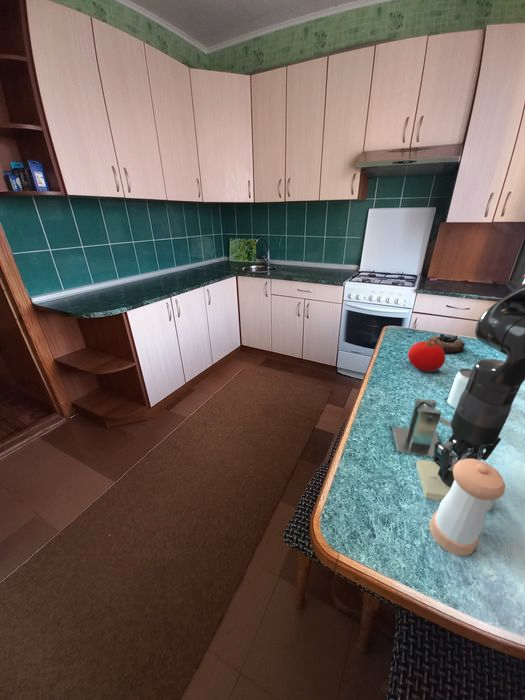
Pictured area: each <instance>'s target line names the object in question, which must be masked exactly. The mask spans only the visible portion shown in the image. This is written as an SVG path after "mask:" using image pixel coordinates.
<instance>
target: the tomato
mask: <svg viewBox="0 0 525 700" xmlns="http://www.w3.org/2000/svg"><path fill="white" fill-rule="evenodd" d="M407 359H408V361H409V362H410V364H411V365H412V366H413V367H414V368H415V369H417V370H419V371H422V372H435V371H437V370H439V369H441V368H442V367H443V366H444V364H445V362H446V354H445V353H444V350H443V348H442V347H441V346H439V345H438V344H436V343H433V342H429V341H428V340H427V341H426V340H425V341H424V340H423V341H418V342H416V343H414V344H413V345H412V346H411V347H410V348H409V350H408V353H407Z"/></svg>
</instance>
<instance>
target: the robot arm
mask: <svg viewBox="0 0 525 700" xmlns="http://www.w3.org/2000/svg"><path fill="white" fill-rule="evenodd" d="M474 334H475V337H476V339H477V340H478V341H479V342H480V343H482V344H483V345H485V346H487V347H489V348H491V349H493V350H496V351H497V352H498V353H499V352H500V353H501V354H503V355H506V359H505V360H501V359H495V358H483V359H480V360H478V361H477V362H476V363H475V364H474V365H473V367H472V372H471V374H470V377H469V380H468V382H467V385H466V388H465V390H464V391H463V393H462V395H461V397H460V399H459V402H458V405H457V407H456V408H455V410H454V413H453V416H452V418H451V421H450V422H451V428H452V429H451V428H450V429H451V431H452V434H451V435H450V436H449V438H448V439H447V441H446V442H445V443H441V441H439V442H436V443H435V448H434V457H433V462H435V463H436V464H437V465H438V466H439V467H440V469H439V471H438V475H439V476H440V477H441V478H442V480H443V481H444V482H448V481H449V480H450V478H451V475H452V473H453V467H454V465H455V464H456V463H457V462H458V461H460V460H464V459H476V460H480V461H483V462H485V461H487V460H488V459H489V457H490V456H491V454H492V453H493V452H494V450H495V449H496V448H497V446H498V445H499V443H501V441H502V439H501V437H499V436H500V434H501V433H502V430H503V428H504V426H505V424H506V423H507V420H508V418H509V416H510V413H511V411H512V406H513V403H514V401H515V399H516V396H517V395H518V392H519V390H520V388H521V386H522V384H523V383H524V382H525V283H522V285H520V286H518V287H517V288H515V289H513V290H512V291H511V292H509V293H508V294H507V295H506V296H504V297H502V298H501V299H500V300H498V301H497V302H495V303H494V304H492V305H491V306H490V307H488V308H487V309H486V310H485V311H484V312H483V313H482V314H481V315H480V317H479V319H478V320H477V322H476V324H475V329H474ZM484 450H485V452H484ZM456 455H458V456H459V457H457V456H456ZM449 457H450V458H451V459H452V462H451V463H450V462H449Z"/></svg>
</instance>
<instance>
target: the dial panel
mask: <svg viewBox="0 0 525 700" xmlns="http://www.w3.org/2000/svg"><path fill="white" fill-rule="evenodd" d="M415 468H416V471H417V476H418V479H419V482H420V486H421V490H422V493H423V498H424V499H425V500H431V501H434V502H435V501H436V502H440V503H441V501H442V500H443V499H444V497H445V496H446V495H447V493H448V492H449V491H450V489H451V487H449V486H447V485H446V484H445V483H444V482H443V481H442V480H441V478H440V476H439V475H438V471H439V469H440V467H439V466H438V465H437V464H436V463H435V462H434V461H432V460H425V459H419V458H418V459H416V463H415ZM493 506H494V503H493V501H492V502H491V504H490V506H489V508H488V510H487V512H490V511H491V510H492V508H493Z"/></svg>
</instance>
